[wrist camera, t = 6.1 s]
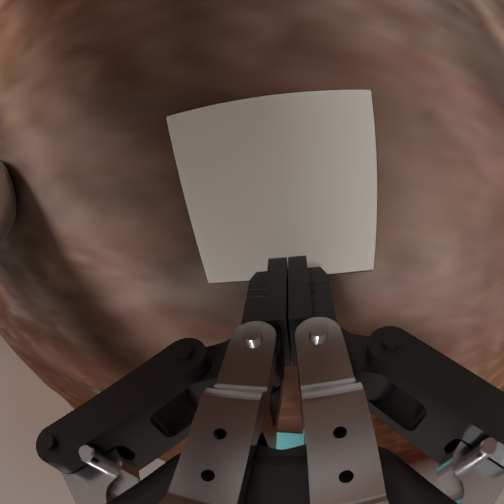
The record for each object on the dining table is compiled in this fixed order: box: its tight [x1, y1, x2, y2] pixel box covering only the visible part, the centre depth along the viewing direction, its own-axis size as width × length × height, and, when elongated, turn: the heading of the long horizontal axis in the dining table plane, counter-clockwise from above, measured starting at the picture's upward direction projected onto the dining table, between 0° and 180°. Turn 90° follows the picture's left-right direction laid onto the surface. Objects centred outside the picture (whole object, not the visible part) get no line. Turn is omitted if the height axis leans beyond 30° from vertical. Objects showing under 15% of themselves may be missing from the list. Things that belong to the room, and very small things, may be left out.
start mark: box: [166, 90, 377, 283], centre depth 11 cm, size 8×8×1 cm
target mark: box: [276, 432, 303, 450], centre depth 26 cm, size 14×14×1 cm
